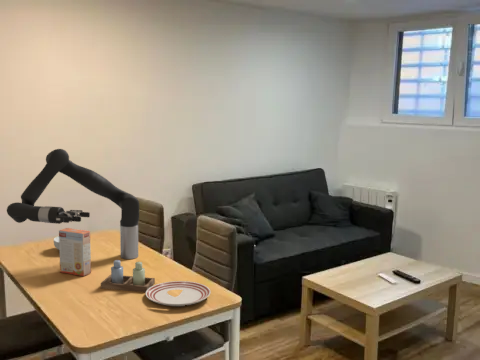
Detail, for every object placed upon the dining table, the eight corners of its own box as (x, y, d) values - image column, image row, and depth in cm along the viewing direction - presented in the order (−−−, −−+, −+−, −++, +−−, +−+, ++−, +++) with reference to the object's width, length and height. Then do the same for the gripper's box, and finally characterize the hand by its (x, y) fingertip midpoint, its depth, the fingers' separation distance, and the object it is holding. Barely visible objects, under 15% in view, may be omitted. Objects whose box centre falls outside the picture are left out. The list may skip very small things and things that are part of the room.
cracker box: (91, 273, 243) (90, 230, 239) (83, 277, 237) (82, 233, 234) (68, 268, 248) (67, 227, 245) (59, 272, 242) (58, 229, 239)
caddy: (110, 280, 233) (110, 274, 233) (154, 284, 230) (154, 278, 230) (100, 289, 223) (100, 283, 222) (146, 293, 220) (146, 287, 219)
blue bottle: (114, 282, 230) (113, 258, 228) (125, 283, 229) (124, 259, 228) (109, 286, 225) (109, 262, 223) (120, 287, 224) (120, 263, 223)
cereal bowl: (63, 244, 286) (62, 232, 285) (91, 246, 284) (91, 234, 283) (47, 254, 270) (47, 241, 268) (77, 256, 267) (77, 243, 266)
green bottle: (135, 284, 229) (135, 260, 227) (146, 285, 228) (146, 261, 226) (131, 288, 224) (131, 264, 222) (142, 289, 223) (142, 265, 221)
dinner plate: (139, 290, 223) (139, 283, 223) (198, 283, 234) (198, 276, 233) (154, 316, 198) (154, 307, 198) (219, 306, 209) (220, 298, 209)
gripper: (42, 210, 222) (77, 212, 220) (59, 203, 236) (91, 205, 234) (43, 226, 224) (78, 229, 221) (59, 219, 238) (92, 221, 235)
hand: (85, 217), depth 228 cm, fingers open, 8 cm apart
